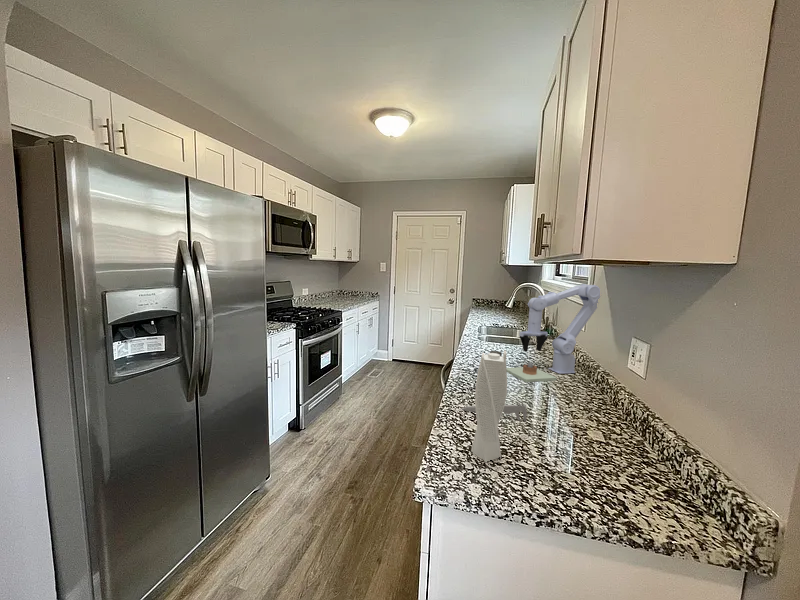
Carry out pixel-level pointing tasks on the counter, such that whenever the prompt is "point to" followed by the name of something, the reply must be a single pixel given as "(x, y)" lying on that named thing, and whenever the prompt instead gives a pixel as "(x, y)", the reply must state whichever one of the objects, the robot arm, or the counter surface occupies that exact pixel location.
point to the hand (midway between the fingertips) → (532, 350)
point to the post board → (530, 378)
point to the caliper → (506, 410)
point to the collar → (529, 370)
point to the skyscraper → (489, 405)
